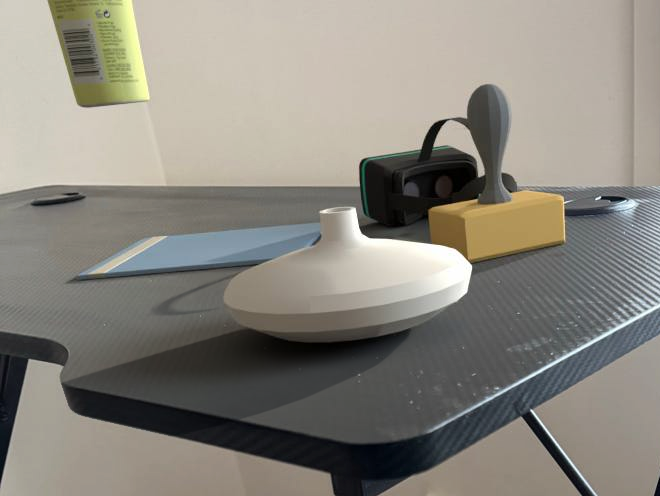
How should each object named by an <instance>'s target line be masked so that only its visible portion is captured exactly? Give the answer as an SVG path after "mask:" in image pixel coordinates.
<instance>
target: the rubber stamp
mask: <svg viewBox="0 0 660 496" xmlns="http://www.w3.org/2000/svg"><path fill="white" fill-rule="evenodd" d="M466 119H467V121H468V126H469V130H470V131H469V130H468V131H469V133H470V136H471V139H472V141H473V143H474V146H475V148H476V151H477V152H478V155H479V157H480V160H481V163H482V167H483V170H485V171H484V175H485V174H486V186H485V189H484V191H483V192H482V194H479V198H478V199H476V200H470V201H465V202H459V203H454V204H448V205H443V206H437V207H433V208H431V209H430V210H429V215H428V222H429V232H430V241H431V243H430V244H432V245H440V246H445V247H449V248H452V249H455V250H457V251H458V252H459V253H460V254H462V256H463V257H464V258H465V259H466V260H467V261H468V262H469V263H470V264H474V263H477V262H482V261H486V260H491V259H497V258H501V257H505V256H510V255H515V254H519V253H525V252H529V251H533V250H538V249H542V248H548V247H552V246H556V245H557V246H558V245H561V244H565V243H566V230H565V229H566V226H565V225H566V224H565V223H566V222H565V200H564V199H565V198H564V196H562V195H561V194H556V193H548V192H541V191H535V190H527V189H526V190H525V189H524V190H521V191H517V192H514V193H509V191H508V190H507V189H506V188H505V187H504V185H503V183H502V178H501V172H502V167H503V161H504V156H505V153H506V149H507V145H508V143H509V142H508V141H509V137H510V133H511V128H512V119H513V117H512V107H511V102H510V100H509V98H508V96H507V93H506V92H505V91H504V90H503V89H502V88H501V87H500V86H498V85H497V84H496V85H495V84H493V83H485V84H482V85H479V86H478V87H477V88H475V90H474V91H473V92H472V93H471V95H470V97H469V99H468V102H467V106H466Z"/></svg>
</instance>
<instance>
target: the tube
mask: <svg viewBox="0 0 660 496" xmlns="http://www.w3.org/2000/svg"><path fill="white" fill-rule="evenodd" d="M46 1H47V5H48V7H49V11H50V14H51V17H52V21H53V25H54V28H55V32H56V35H57V38H58V42H59V46H60V49H61V53H62V56H63V59H64V60H63V61H64V63H65V67H66V70H67V74H68V79H69V81H70V84H71V88H72V93H73V95H74V99H75V103H76V105H77V106H79V107H81V108H84V109H86V108H87V109H89V108H99V107H100V108H101V107H109V106H119V105H127V104H137V103H145V102H150V99H151V97H150V93H149V87H148V82H147V77H146V71H145V66H144V61H143V60H144V59H143V55H142V51H141V44H140V40H139V39H140V38H139V34H138V27H137V23H136V18H135V13H134V7H133V2H132V1H133V0H46Z"/></svg>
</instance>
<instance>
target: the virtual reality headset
mask: <svg viewBox="0 0 660 496" xmlns="http://www.w3.org/2000/svg"><path fill="white" fill-rule="evenodd" d="M448 121H454V122H456V123H459V124H461V125H463V126H465V128H466V129H467V130H468V131H469V132H470V130H469V126H468V121H467V117H462V116H456V117H451V118H450V117H449V118H444V119H440V120H437V121H435V122H434V123H432V125H431V126H430V127H429V129H428V130H427V132H426V134H425V136H424V139H423V142H422V145H421V147H420V149H413V150H408V151H407V150H406V151H402V152H395V153H388V154H382V155H376V156H368V157H364V158H362V159H361V160H360V162H359V164H358V176H359V177H358V180H359V190H360V191H359V192H360V200H361V206H362V212H363V214H364V216H366V218H368V219H370V220H374V221H377V222H379V223H381V224H384V225H386V226H387V227H391V226H394V225H396V224H399V223H401V224H402V225H403V226H407V225H410V224H412V223H413V222H416V221H418V220H419V219H421V218H423V217H425V216H426V217H427V216H429V210H430V209H431V208H433V207H437V206H443V205H448V204H454V203H459V202H465V201H470V200H476V199H478V198H479V197H480V195H481V194H482V192H483V191H484V189H485V186H486V174H485V173H484V174H483V175H481V176H479V169H478V161H477V159H476V157H475V156H473V155H472V154H469V153H467V152H465V151H462V150H460V149H459V148H455V147H453V146H452V145H448V144H447V145H439V146H435V144H436V143H435V142H436V140H437V137H438V134H439V133H440V132H441V129H442V128H443V126H444V125H445V124H446V123H447V122H448ZM483 172H485V169H483ZM501 178H502V183H503V185H504V187H505V188H506V189H507V190H508V191H509V193H514V192H518V183H517V181H516V179H515V178H514V177H513V176H512V174H510V173H507V172H503V171H501Z"/></svg>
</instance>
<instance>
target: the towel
mask: <svg viewBox="0 0 660 496" xmlns="http://www.w3.org/2000/svg"><path fill="white" fill-rule="evenodd" d="M320 236H322V230H321V222H319V221H318V222H317V221H316V222H307V223H298V224H296V223H295V224H285V225H276V226H275V225H274V226H265V227H264V226H263V227H254V228H252V227H251V228H242V229H231V230H221V231H210V232H197V233H188V234H187V233H186V234H177V235H176V234H175V235H160V236H152V237H144V238H142V239H140V240H138V241H136V242H134V243H133V244H131V245H129V246H128V247H126V248H123V249H122V250H120V251H118V252H116V253H115V254H113V255H112V256H111V255H110V256H109V257H107V258H106V259H104V260H102V261H100V262H98V263H97V264H95V265H93V266H91V267H89V268H87V269H86V270H84V271H83V272H81V273H79V274H76V279H77V281H83V280H95V279H105V278H108V279H109V278H119V277H128V276H141V275H151V274H163V273H175V272H187V271H197V270H207V269H208V270H210V269H219V268H221V269H222V268H231V267H242V266H252V265H253V266H254V265H255V266H256V265H260V264H262V263H265V262H267V261H270V260H273V259H275V258H278V257H280V256H283V255H286V254H288V253H291V252H293V251H297V250H300V249H303V248H306V247H310V246H313V244H314V243H315V242H316V241H317V240H318V239H319V238H320Z"/></svg>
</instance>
